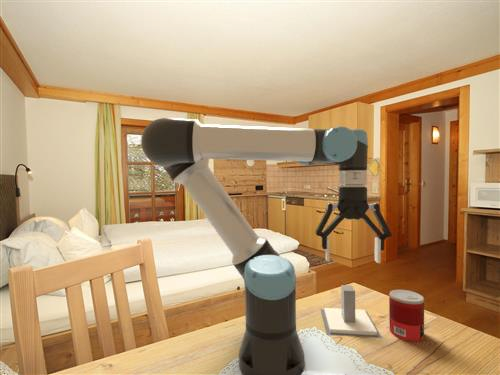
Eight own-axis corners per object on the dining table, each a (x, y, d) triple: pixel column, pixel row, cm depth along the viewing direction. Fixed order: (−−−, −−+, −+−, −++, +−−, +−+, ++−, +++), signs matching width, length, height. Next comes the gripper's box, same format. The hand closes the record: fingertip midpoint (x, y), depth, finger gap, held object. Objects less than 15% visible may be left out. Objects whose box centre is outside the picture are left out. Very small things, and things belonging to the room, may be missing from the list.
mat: (326, 337, 72) (326, 334, 72) (320, 311, 86) (320, 309, 86) (382, 340, 71) (382, 337, 70) (366, 314, 84) (366, 311, 84)
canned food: (429, 346, 68) (429, 302, 68) (394, 343, 70) (394, 300, 69) (417, 329, 75) (417, 290, 75) (386, 326, 77) (385, 288, 77)
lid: (329, 332, 73) (329, 296, 73) (324, 311, 85) (323, 279, 85) (377, 335, 72) (376, 297, 71) (364, 312, 83) (364, 280, 83)
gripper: (308, 186, 74) (308, 263, 75) (405, 186, 71) (404, 266, 72) (306, 185, 82) (306, 255, 83) (394, 185, 79) (393, 258, 79)
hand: (352, 261), depth 77 cm, fingers open, 13 cm apart
